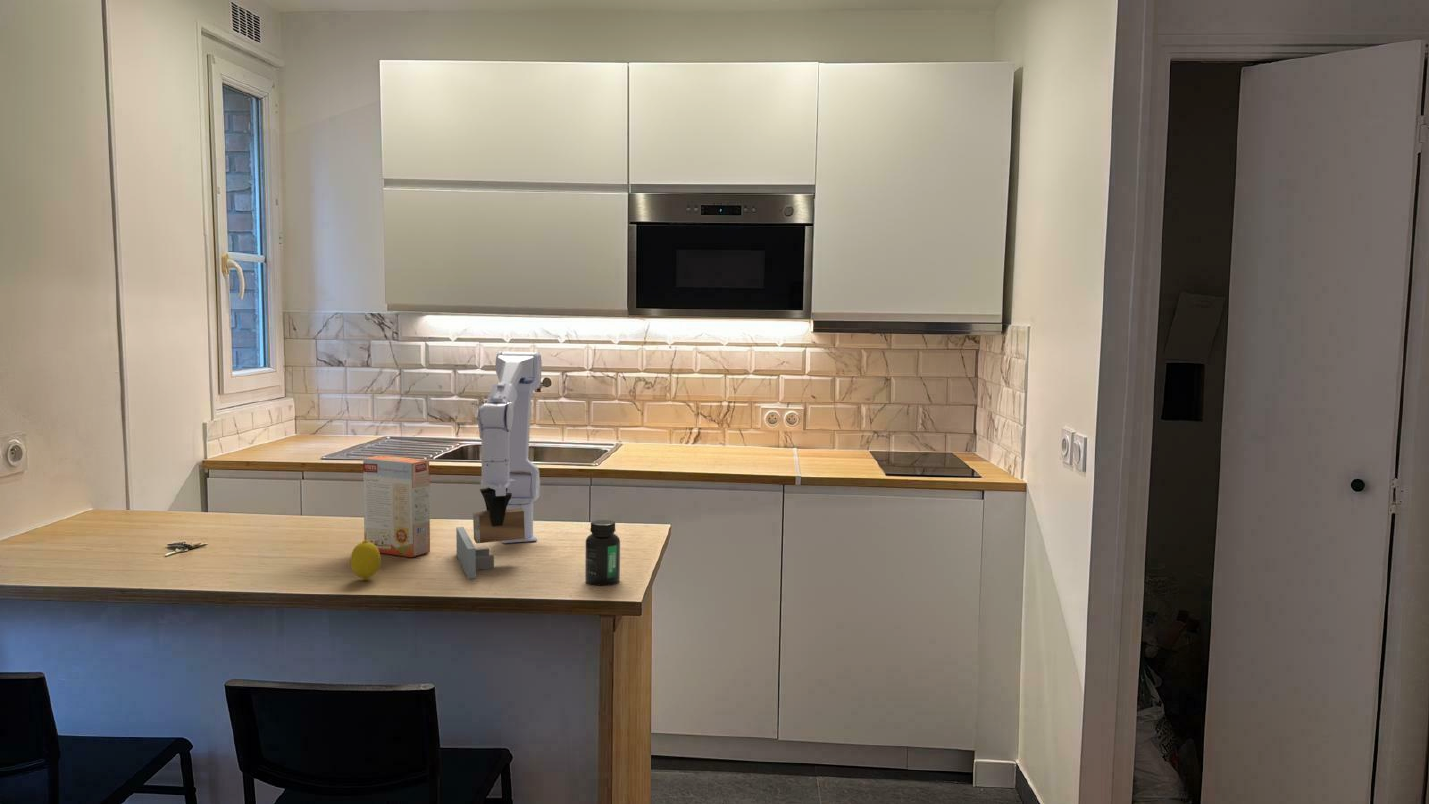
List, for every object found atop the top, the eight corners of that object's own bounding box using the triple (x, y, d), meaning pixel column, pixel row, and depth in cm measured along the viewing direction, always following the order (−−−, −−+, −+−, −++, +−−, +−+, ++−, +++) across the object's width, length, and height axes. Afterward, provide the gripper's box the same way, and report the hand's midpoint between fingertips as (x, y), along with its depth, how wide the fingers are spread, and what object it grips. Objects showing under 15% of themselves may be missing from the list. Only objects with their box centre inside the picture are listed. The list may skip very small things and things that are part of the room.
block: (474, 539, 199) (472, 511, 198) (521, 534, 203) (520, 507, 202) (476, 543, 196) (475, 515, 195) (524, 538, 199) (523, 510, 199)
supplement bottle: (620, 585, 185) (621, 525, 183) (585, 586, 183) (586, 526, 182) (618, 576, 191) (619, 518, 190) (584, 577, 190) (585, 518, 189)
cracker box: (431, 552, 207) (430, 458, 205) (412, 559, 201) (411, 462, 199) (383, 545, 213) (382, 453, 211) (363, 551, 207) (361, 457, 205)
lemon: (355, 576, 188) (354, 537, 187) (384, 576, 188) (383, 537, 187) (347, 584, 182) (346, 543, 181) (376, 584, 183) (375, 543, 182)
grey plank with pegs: (456, 554, 206) (456, 527, 205) (484, 552, 208) (484, 525, 208) (467, 578, 187) (467, 549, 187) (498, 576, 190) (498, 546, 189)
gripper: (520, 464, 192) (520, 529, 193) (509, 454, 205) (509, 515, 207) (485, 466, 189) (485, 532, 191) (476, 455, 203) (476, 517, 204)
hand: (495, 523), depth 198 cm, fingers closed on block, 3 cm apart
